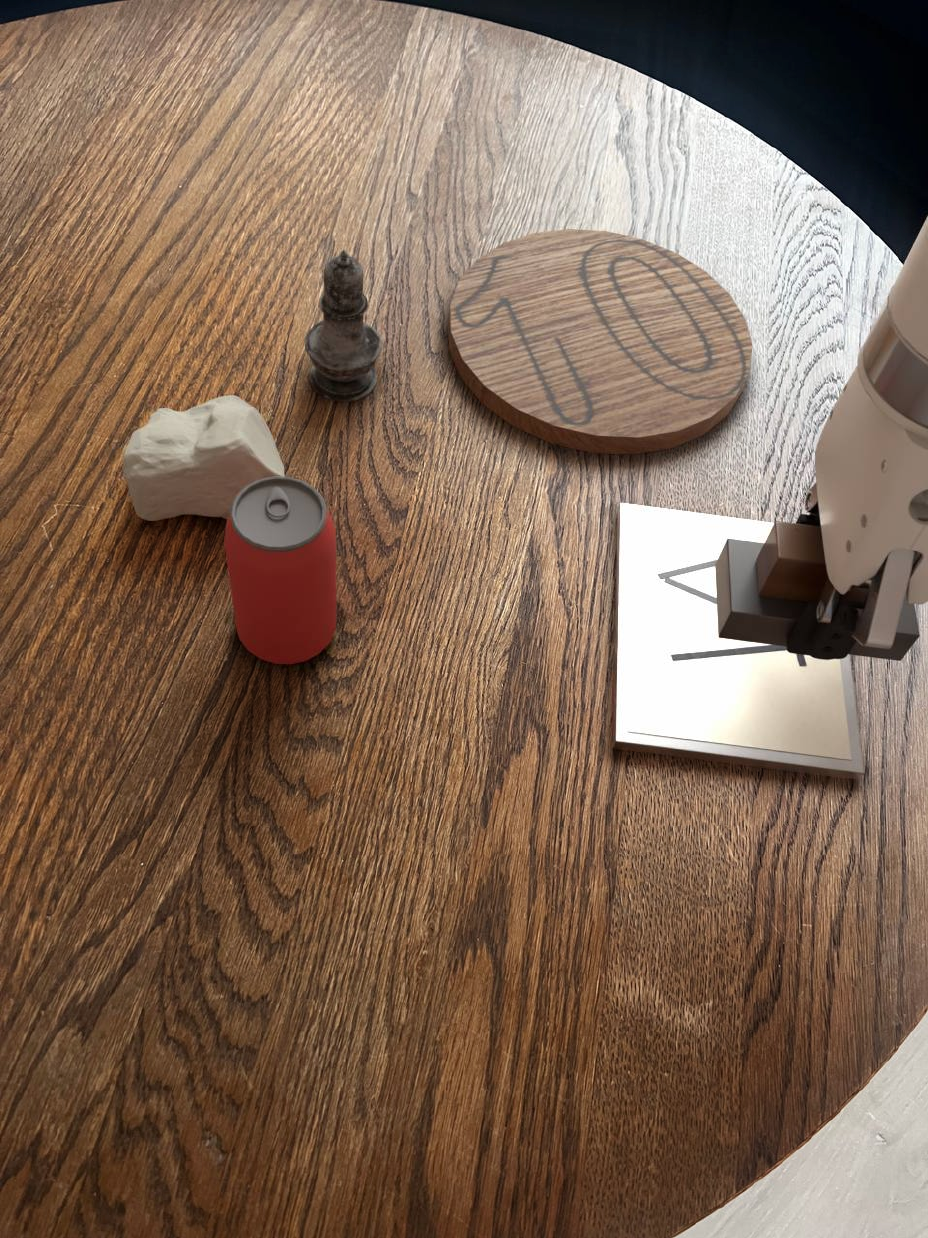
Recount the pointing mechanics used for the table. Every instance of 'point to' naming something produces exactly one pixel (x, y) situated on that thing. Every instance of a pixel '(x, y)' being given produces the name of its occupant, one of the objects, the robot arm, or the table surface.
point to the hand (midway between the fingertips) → (810, 605)
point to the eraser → (786, 590)
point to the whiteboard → (715, 660)
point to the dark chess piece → (343, 335)
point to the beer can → (282, 569)
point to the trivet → (599, 341)
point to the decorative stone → (198, 459)
